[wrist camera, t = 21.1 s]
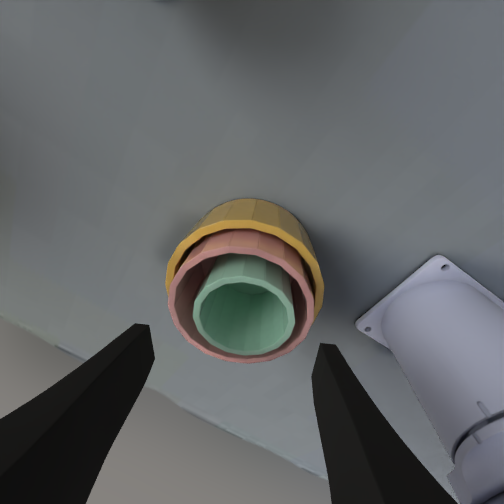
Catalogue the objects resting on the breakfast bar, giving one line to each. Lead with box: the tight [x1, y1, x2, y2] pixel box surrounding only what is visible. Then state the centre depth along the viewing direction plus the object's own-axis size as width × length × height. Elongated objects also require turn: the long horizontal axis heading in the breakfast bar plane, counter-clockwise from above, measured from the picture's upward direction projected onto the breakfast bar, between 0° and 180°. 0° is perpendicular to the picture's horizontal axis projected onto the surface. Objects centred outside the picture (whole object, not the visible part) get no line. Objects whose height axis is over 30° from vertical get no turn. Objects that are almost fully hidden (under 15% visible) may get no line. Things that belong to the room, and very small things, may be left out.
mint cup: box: [193, 253, 295, 356], centre depth 14 cm, size 5×5×6 cm
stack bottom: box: [165, 199, 324, 324], centre depth 16 cm, size 9×9×4 cm
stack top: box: [168, 228, 314, 363], centre depth 15 cm, size 8×8×6 cm
